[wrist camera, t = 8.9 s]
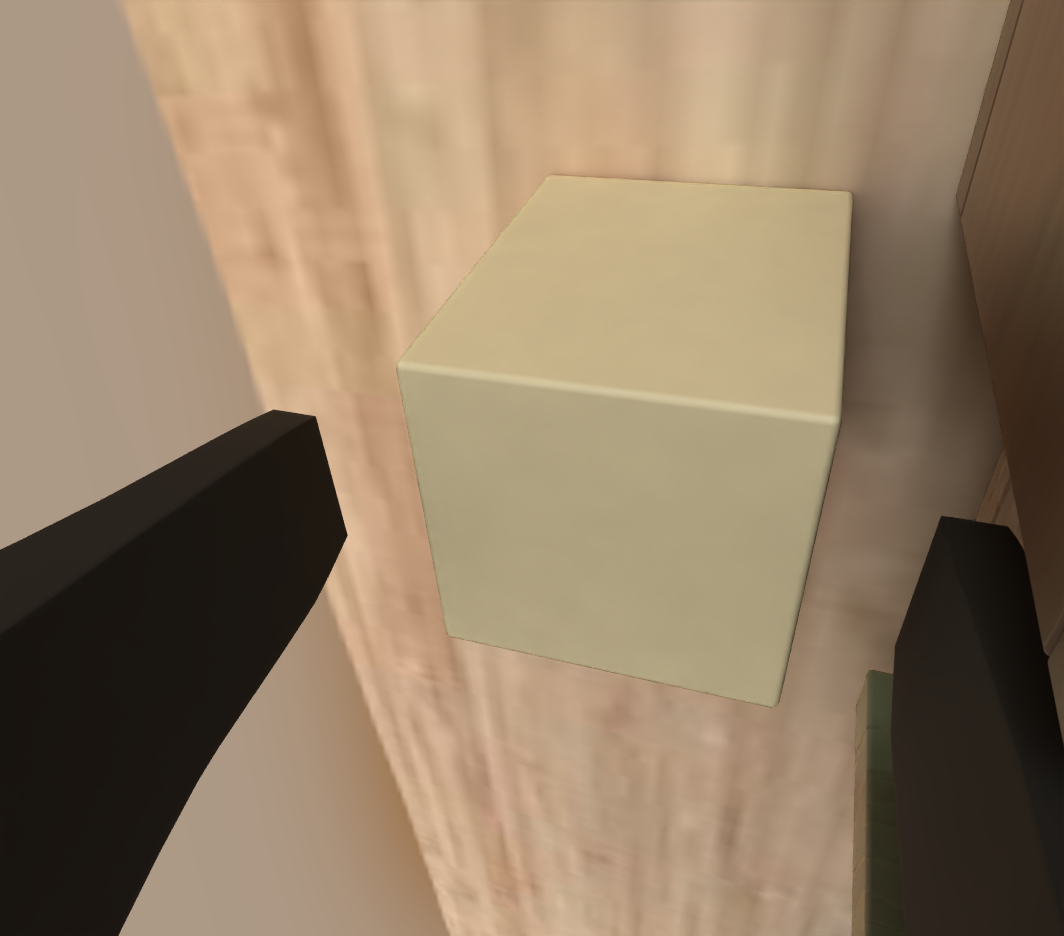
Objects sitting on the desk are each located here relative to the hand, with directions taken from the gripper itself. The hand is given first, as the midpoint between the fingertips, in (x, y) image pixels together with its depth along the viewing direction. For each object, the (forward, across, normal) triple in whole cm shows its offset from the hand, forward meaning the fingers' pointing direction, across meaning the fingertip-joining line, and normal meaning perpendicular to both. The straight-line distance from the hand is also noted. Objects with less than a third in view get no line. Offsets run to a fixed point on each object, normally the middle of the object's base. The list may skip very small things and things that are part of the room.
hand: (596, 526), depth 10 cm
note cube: (+5, 0, 0) cm, 5 cm away
